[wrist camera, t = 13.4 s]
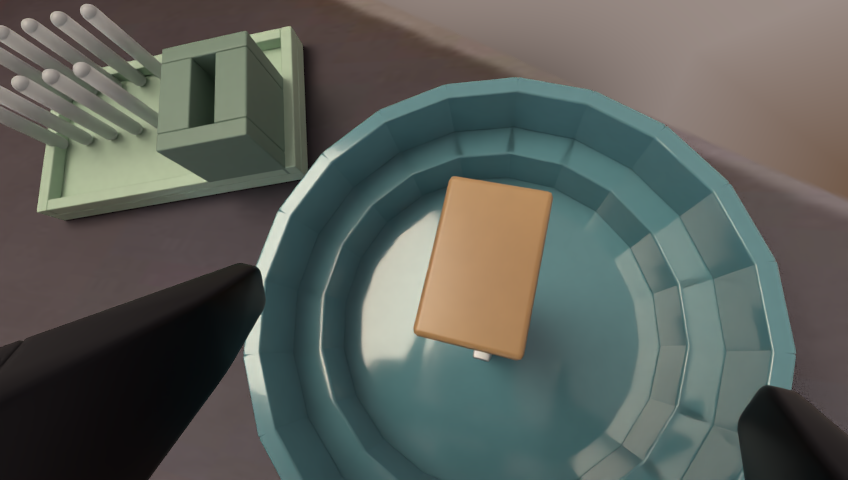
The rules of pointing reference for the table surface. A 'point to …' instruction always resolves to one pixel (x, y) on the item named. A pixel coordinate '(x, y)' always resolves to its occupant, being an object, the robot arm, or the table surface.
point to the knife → (484, 267)
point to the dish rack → (156, 115)
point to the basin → (552, 310)
